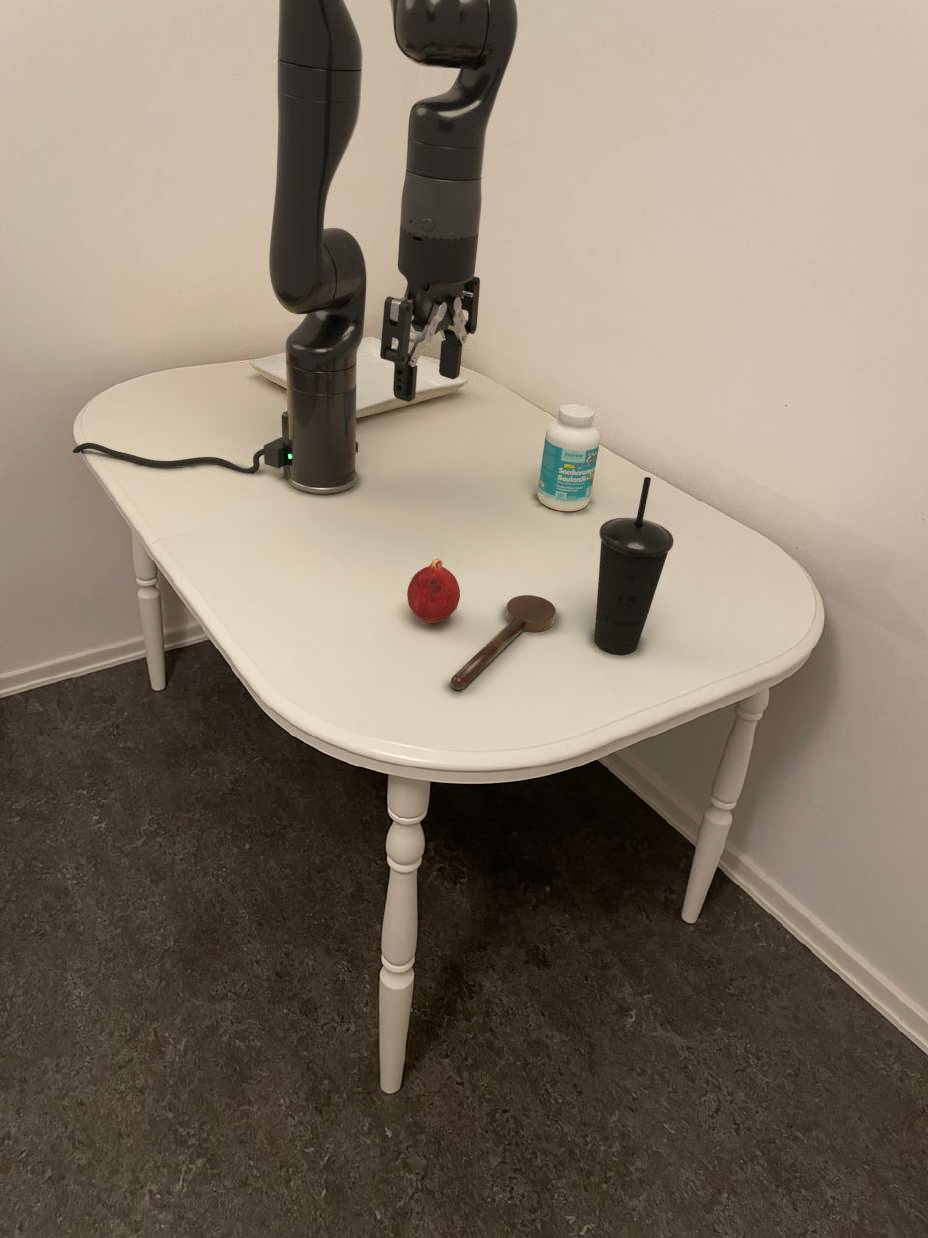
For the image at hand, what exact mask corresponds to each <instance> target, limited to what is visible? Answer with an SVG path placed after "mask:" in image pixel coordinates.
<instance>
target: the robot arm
mask: <svg viewBox="0 0 928 1238" xmlns="http://www.w3.org/2000/svg"><path fill="white" fill-rule="evenodd" d="M278 3H279V4H278V35H277V36H278V39H277V68H276V69H277V79H276V81H277V83H276V84H277V85H276V86H277V87H276V88H277V90H276V91H277V92H276V93H277V147H276V173H275V174H276V176H275V192H274V201H273V213H272V223H271V230H270V231H271V232H270V240H269V241H270V242H269V253H268V264H269V265H268V270H269V278H270V283H271V288H272V291H273V292H274V295H275V298H276V300H277V301H278V302H279V304H280V305H281V307H282V308H283V309H285V311H287V312H289V313H291V314H293V315H305V316H304V318H303V320H302V321H301V322H300V324H299V325H298V326H297V327H296V328H295V329H293V331H292V332H290V334H288V336H287V337H286V340H285V346H284V348H285V353H286V383H287V389H286V411H284V412H282V414H281V418H280V419H281V436H280V437H278V438H275V439H274V440H272V441H270V442H267V443H266V444H264V445H263V448H261V449H259V450H257V451H256V452H254V454H253V457H252V463H253V465H252V466H250V467H248V468H247V467H245V468H244V467H240V466H239V465H236V464H234V463H233V462H231V461H229V460H227V459H224V458H221V457H216V456H198V457H191V458H189V457H188V458H183V459H177V460H158V459H150V458H145V457H142V456H139V455H134V454H131V453H128V452H122V451H119V450H115V449H112V448H109V447H106V446H104V445H102V444H99V443H94V442H83V443H81V444H79V445H77V446H75V448H73V450H71V451H72V452H71V453H73V454H79V453H81V452H83V451H84V450H94V451H98V452H101V453H103V454H106V455H109V456H111V457H115V458H117V459H123V460H126V461H131V462H134V463H137V464H141V465H145V466H150V467H156V468H172V467H173V468H177V467H184V466H190V465H191V466H192V465H196V464H197V465H198V464H216V465H221V466H223V467H225V468H228V469H229V470H231V471H235V472H239V473H242V474H251V475H252V474H254V473H255V472H257V471H258V470H259V469H260V466H261V465H260V459H261V457H262V456H263V461H264V463H263V464H264V465H267V466H269V467H272V468H275V469H277V470H278V469H280V468H281V469H282V476H283V479H286V480H288V482H289V484H290V485H291V486H292V487H294V488H295V489H297V490H300V491H302V492H304V493H305V492H306V493H309V494H316V495H317V494H318V495H320V494H321V495H328V494H336V493H341V492H344V491H346V490H349V489H351V488H352V487H353V486H354V485H355V484H356V482H357V472H356V466H357V465H356V462H357V459H356V457H357V456H356V455H357V454H359V442H357V418H356V377H357V351H358V348H359V346H360V344H361V341H362V338H364V331H365V317H366V316H365V315H366V303H367V301H366V300H367V283H368V282H367V280H368V279H367V264H366V260H365V255H364V252H363V250H362V248H361V244H360V243H359V241H358V240H357V239H356V238H355V236H354V235H353V234H352V233H350V232H349V231H348V230H345V229H343V228H340V227H327V228H325V214H326V208H327V207H326V206H327V200H328V195H329V192H330V189H331V186H332V183H333V180H334V178H335V176H336V173H337V171H338V169H339V167H340V165H341V163H342V161H343V158H344V157H345V154H346V153H347V150H348V148H349V145H350V143H351V142H352V141H351V140H352V138H353V137H354V134H355V130H356V128H357V125H358V121H359V118H360V117H359V116H360V110H361V99H362V80H363V79H362V78H363V61H364V60H363V59H364V56H363V48H362V42H361V38H360V36H359V33H358V30H357V27H356V25H355V23H354V20H353V17H352V15H351V13H350V11H349V9H348V7H347V4H346V2H345V0H279V1H278ZM389 5H390V10H391V14H392V16H391V17H392V25H393V35H394V39H395V43H396V45H397V47H398V49H399V51H400V52H401V53H402V55H404V57H406V58H407V59H408V60H410V61H411V62H412V63H414V64H416V65H418V66H421V67H426V68H439V69H455V70H456V69H457V70H458V69H459V71H458V73H457V76H456V78H455V80H454V82H453V84H452V86H450V89H448V90H447V91H446V92H443V93H440V94H438V95H434V96H429V97H425V98H422V99H419V100H417V101H416V102H414V104H412V106H411V109H410V111H409V118H408V127H407V140H406V141H407V144H406V159H405V174H404V175H405V176H404V182H403V185H402V192H401V201H400V220H399V235H398V252H397V254H398V255H397V256H398V257H397V269H398V271H399V273H400V274H401V275H402V276H403V277H404V278H405V280H406V289H405V292H404V294H403V297H399V298H398V297H393V296H390V295H389V296H387V297H386V298H385V299H384V304H383V317H382V328H381V339H380V340H381V350H380V357H381V359H384V360H388V361H391V362H394V383H393V391H394V396H395V397H396V398H398V399H401V400H404V401H407V402H410V401H412V400H414V399H415V394H416V380H417V365H416V364H417V361H418V359H419V357H421V354H422V352H423V350H424V348H427V347H429V346H430V344H431V342H432V339H433V337H434V336H435V335H436V334H438V333H439V332H440V334H441V338H443V340H441V342H440V354H439V364H438V365H439V373H440V375H441V376H443V377H447V378H450V379H455V378H457V377H459V376H461V375H460V374H461V365H462V354H463V345H465V344H466V343H467V340H468V336H469V335H475V333H476V332H477V329H478V318H479V317H478V315H479V314H478V313H479V301H480V287H481V279H480V277H478V276H475V274H476V264H477V256H478V255H477V254H478V245H479V235H480V227H481V226H480V223H481V216H482V215H481V214H482V202H483V201H482V198H483V197H482V196H483V194H482V179H483V178H482V175H483V168H484V167H483V166H484V157H485V146H486V134H487V130H488V125H489V123H490V119H491V117H492V113H493V110H494V107H495V104H496V100H497V97H498V94H499V91H500V88H501V86H502V82H503V80H504V77H505V75H506V72H507V69H508V66H509V63H510V61H511V57H512V55H513V52H514V47H515V44H516V40H517V39H516V38H517V34H518V25H519V23H518V22H519V20H518V19H519V17H518V7H517V3H516V0H389ZM464 311H466V312H467V319H466V316H465V314H464ZM412 328H413V330H414V331H412V330H411V329H412ZM393 339H396V340H395V342H394V344H393ZM410 343H412V347H411V349H410ZM392 345H394V347H393V348H392ZM409 349H410V351H409ZM408 352H410V353H408Z"/></svg>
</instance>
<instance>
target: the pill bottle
mask: <svg viewBox="0 0 928 1238" xmlns="http://www.w3.org/2000/svg"><path fill="white" fill-rule="evenodd" d="M557 416H558V419H557V420H555V421H553V422H551V423H550V424H549V425H548V427H546V431H545V437H544V446H543V451H542V458H541V464H540V472H539V479H538V485H537V493H536V494H537V499H538V501H540V503H541V504H542V505H544V506H546V507H548V508H549V509H552V510H555V511H561V512H575V511H580V510H582V509H584V508H586V507H587V506H588V505H589V503H590V500H591V495H592V490H593V484H594V479H595V478H594V477H595V472H596V466H597V461H598V455H599V449H600V445H601V433H600V431H599V429H598V428H597V427H596V426H595V425H594V424H593V422H594V420H595V419H594V418H595V411H594V410H593V409H592V408H591V407H589V406H586V405H582V404H577V403H567V404H563V405H561V406H560V407H559V410H558V415H557Z"/></svg>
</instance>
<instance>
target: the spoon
mask: <svg viewBox="0 0 928 1238" xmlns="http://www.w3.org/2000/svg"><path fill="white" fill-rule="evenodd" d="M556 610H557V609H556V606H555V605H554V604H553V603H552V602H551V601H550V600H548V599H546V598H544V597H542V596H538V595H533V594H532V595H531V594H523V595H517V596H514V597H512V598H511V599H509V601H508V602H507V603H506V607H505V620H506V622H507V624H506V625H505V627H504V628H502V629H501V630H500V631H499V632H498V633H497V634H496V635H495V636H494V637H493V638H491V640H489V641H488V642H487V643H486V644H485V645H484V646H483V647H482V648H481V649H480V650H479V651H478V652H477V653H476V654H474V655H473V657H472V658H470V659H469V660H468V661H467V662H466V663H465V664H464V665H463V666H462V667H461V668H460V669H459V670H458V671H456V672H455V674H453V675H452V677H451V678H450V686H451V687H452V688H453V689H454V690H457V691H461V690H464V688H465V687H466V686H467V685H468V684H470V682H472V681H473V679H475V678H476V677H477V676H478V675H479V673H481V672H482V671H483V670H484V669H485V668H486V667H487V666H488V665H489V664H490V663H491V662H492V661H493V660H494V659H496V658H497V656H498V655H499V654H500V653H501V652H502V651H503V650H504V649H505V648H506V647H507V646H508V645H509V644H510V643H511V642H512V641H514V640H515V638H516V637H518V636H519V635H520V634H521V633H522V632H526V633H527V632H529V633H540V632H544V631H547V630H549V629H551V628H552V627H553V626H554V624H555V620H556V612H557V611H556Z"/></svg>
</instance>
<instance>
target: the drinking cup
mask: <svg viewBox="0 0 928 1238" xmlns="http://www.w3.org/2000/svg"><path fill="white" fill-rule="evenodd" d="M651 482H652V478H651V477H649V476H645V477H644V478H643V483H642V488H641V494H640V499H639V504H638V507H637V508H638V509H637V513H636V517H617V518H612V519H609V520H606V521H605V522H604V523H602V525H601V526H600V527H599V531H598V532H599V533H598V535H599V539H600V553H599V554H600V555H599V568H598V581H597V594H596V595H597V597H596V610H595V624H594V625H595V626H594V639H593V640H594V643H595V646H597V647H598V648H599V649H600V650H602V651H604V652H606V653H608V654H611V655H617V656H626V655H630V654H633V653H634V652H635V651H636V650H637V649H638V648H639V647H638V646H639V644H640V640H641V637H642V633H643V631H644V628H645V625H646V621H647V619H648V616H649V613H650V610H651V606H652V604H653V600H654V597H655V594H656V590H657V588H658V586H659V585H658V584H659V581H660V578H661V576H662V572H663V569H664V566H665V563H666V560H667V557H668V554H669V552H670V551H671V550H672V549H673V546H674V541H675V540H674V536H673V534H672V533H671V531H670V530H668V529H667V528H665V526H662V525H661V524H658V523H656V522H654V521H651V520H647V519H644V518H645V512H646V507H647V503H648V502H647V501H648V497H649V491H650V486H651Z"/></svg>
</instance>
